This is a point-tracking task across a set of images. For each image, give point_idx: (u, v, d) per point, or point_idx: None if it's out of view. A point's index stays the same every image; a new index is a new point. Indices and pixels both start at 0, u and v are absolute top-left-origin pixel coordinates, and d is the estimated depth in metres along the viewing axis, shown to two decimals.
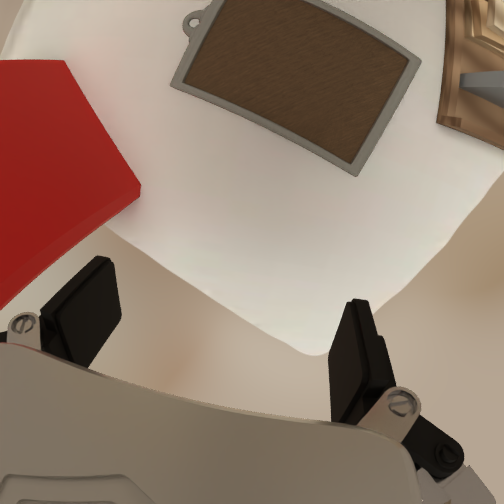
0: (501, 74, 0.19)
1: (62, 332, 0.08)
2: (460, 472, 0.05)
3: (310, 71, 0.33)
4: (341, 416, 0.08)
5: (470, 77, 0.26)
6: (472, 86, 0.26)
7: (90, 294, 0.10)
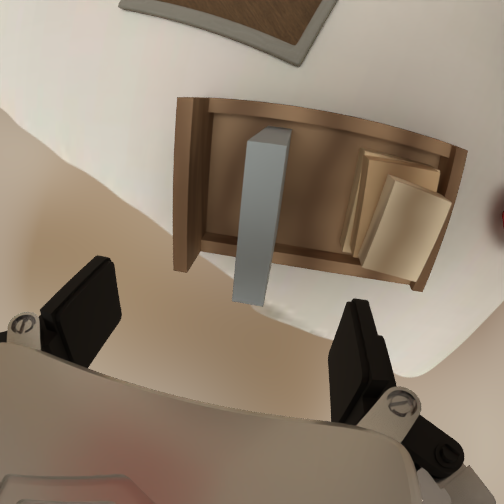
0: (278, 143, 0.15)
1: (62, 332, 0.08)
2: (460, 472, 0.05)
3: None
4: (341, 416, 0.08)
5: (281, 131, 0.22)
6: (264, 130, 0.21)
7: (90, 294, 0.10)
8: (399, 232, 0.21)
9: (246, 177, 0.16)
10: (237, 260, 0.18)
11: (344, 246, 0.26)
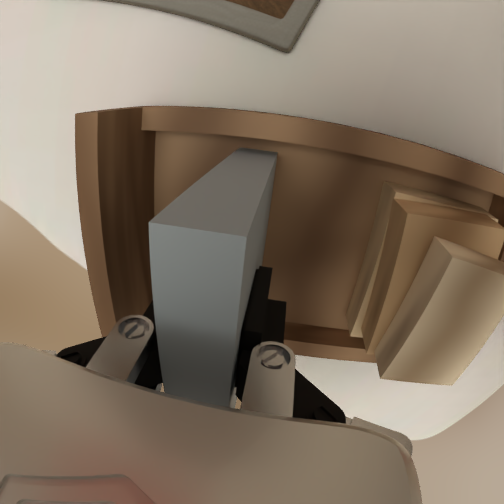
0: (228, 221, 0.06)
1: None
2: None
3: None
4: None
5: (257, 161, 0.13)
6: None
7: None
8: (443, 331, 0.12)
9: (158, 302, 0.07)
10: None
11: (353, 329, 0.17)
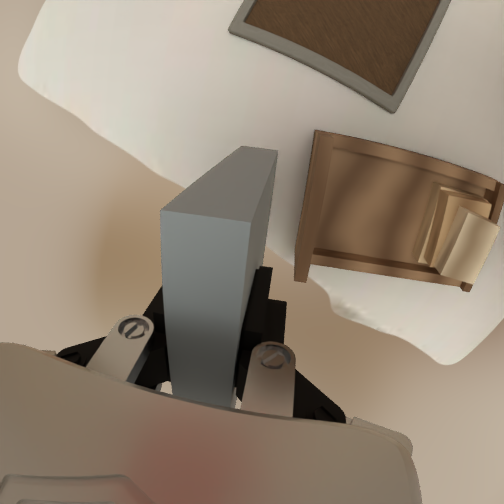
0: (234, 210, 0.07)
1: None
2: None
3: None
4: None
5: (259, 158, 0.13)
6: None
7: None
8: (466, 248, 0.25)
9: (168, 286, 0.07)
10: None
11: (419, 258, 0.31)
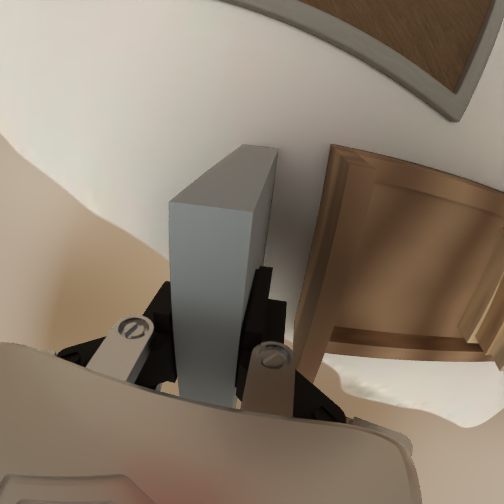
0: (237, 201, 0.07)
1: None
2: None
3: None
4: None
5: (259, 155, 0.14)
6: (230, 156, 0.13)
7: None
8: None
9: (175, 273, 0.08)
10: (182, 390, 0.10)
11: (470, 337, 0.19)
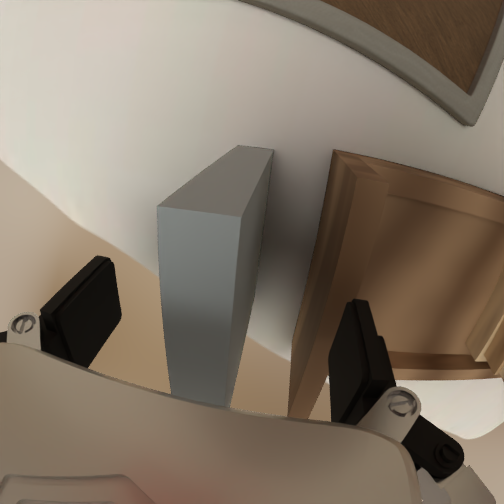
0: (226, 206, 0.07)
1: (62, 332, 0.08)
2: (461, 472, 0.05)
3: None
4: (341, 416, 0.08)
5: (254, 157, 0.14)
6: (224, 158, 0.13)
7: (90, 294, 0.10)
8: None
9: (164, 278, 0.08)
10: (174, 392, 0.10)
11: (478, 356, 0.17)
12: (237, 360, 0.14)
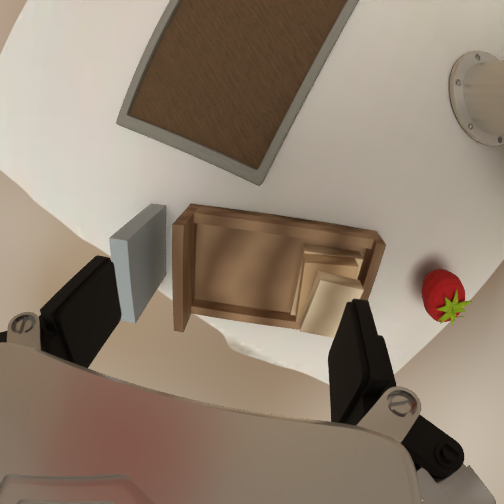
0: (125, 237, 0.28)
1: (62, 332, 0.08)
2: (460, 472, 0.05)
3: (225, 59, 0.29)
4: (341, 416, 0.08)
5: (150, 213, 0.34)
6: (139, 214, 0.34)
7: (90, 294, 0.10)
8: (324, 310, 0.33)
9: (112, 256, 0.28)
10: None
11: (291, 311, 0.38)
12: (144, 293, 0.34)
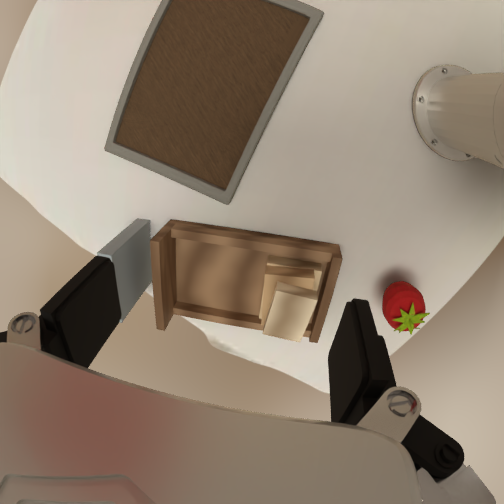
0: (110, 252, 0.33)
1: (62, 332, 0.08)
2: (461, 472, 0.05)
3: (194, 90, 0.33)
4: (341, 416, 0.08)
5: (135, 228, 0.39)
6: (125, 229, 0.39)
7: (90, 294, 0.10)
8: (282, 316, 0.37)
9: None
10: None
11: (259, 315, 0.43)
12: (130, 297, 0.39)
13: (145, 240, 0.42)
